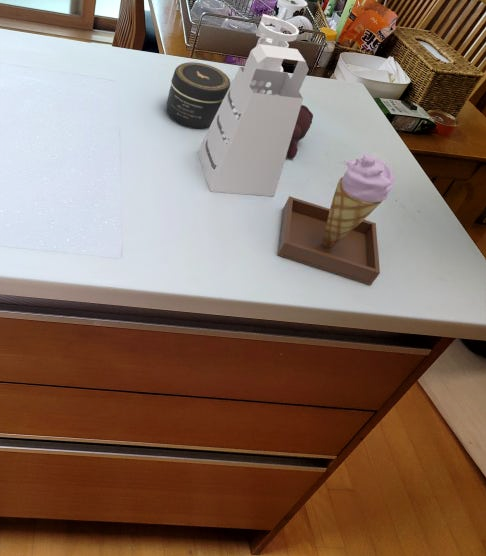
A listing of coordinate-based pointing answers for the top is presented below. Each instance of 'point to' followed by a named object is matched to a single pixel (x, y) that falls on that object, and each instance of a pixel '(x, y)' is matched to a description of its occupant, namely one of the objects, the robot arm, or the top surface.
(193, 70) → the jar
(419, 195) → the top surface
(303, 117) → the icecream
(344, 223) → the ice cream cone
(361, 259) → the tray
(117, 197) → the top surface
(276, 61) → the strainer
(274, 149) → the grater
